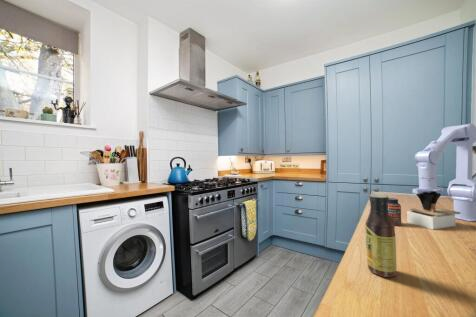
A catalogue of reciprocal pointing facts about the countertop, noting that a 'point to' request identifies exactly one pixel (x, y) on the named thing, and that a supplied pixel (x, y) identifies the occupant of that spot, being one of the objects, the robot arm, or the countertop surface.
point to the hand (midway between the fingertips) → (428, 209)
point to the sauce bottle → (380, 238)
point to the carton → (431, 220)
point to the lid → (435, 211)
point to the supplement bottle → (394, 211)
